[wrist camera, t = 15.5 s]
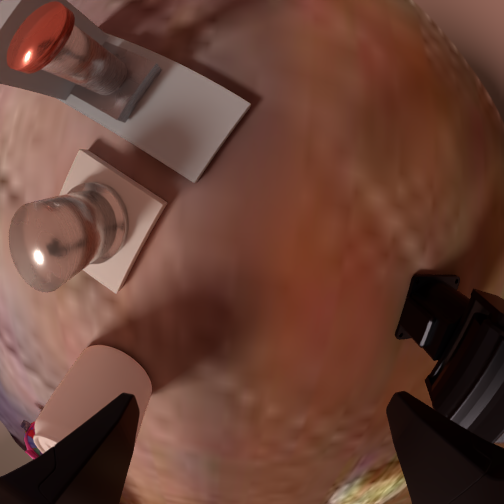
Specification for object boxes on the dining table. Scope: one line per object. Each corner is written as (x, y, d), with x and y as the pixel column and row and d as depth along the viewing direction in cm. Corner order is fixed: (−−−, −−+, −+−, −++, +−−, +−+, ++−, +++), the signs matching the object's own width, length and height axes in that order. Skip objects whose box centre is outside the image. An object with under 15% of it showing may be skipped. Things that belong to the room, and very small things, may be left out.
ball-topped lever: (162, 69, 14) (97, -3, 5) (125, 122, 15) (30, 94, 6) (113, 48, 13) (39, -10, 4) (79, 97, 14) (-13, 68, 5)
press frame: (250, 107, 17) (261, 31, 6) (132, 294, 20) (65, 385, 10) (93, 31, 13) (20, -23, 3) (9, 196, 17) (-76, 222, 7)
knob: (131, 262, 18) (84, 307, 12) (69, 257, 18) (14, 293, 11) (128, 180, 17) (71, 189, 10) (64, 183, 16) (0, 196, 10)
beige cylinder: (134, 338, 22) (80, 444, 10) (165, 399, 24) (141, 497, 12) (70, 342, 22) (11, 421, 10) (103, 398, 24) (68, 478, 13)
